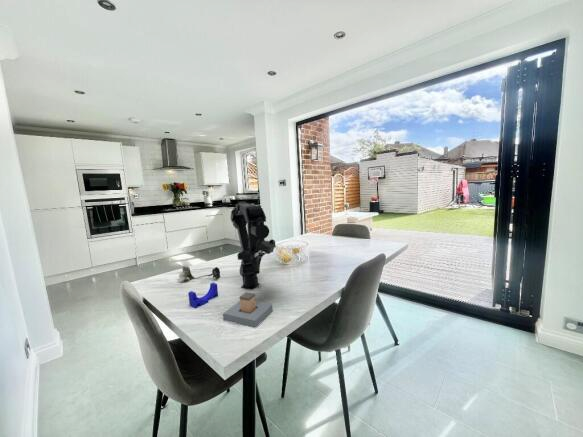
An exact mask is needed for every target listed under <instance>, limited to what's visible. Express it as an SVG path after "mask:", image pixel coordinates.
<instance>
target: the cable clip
mask: <svg viewBox="0 0 583 437" xmlns="http://www.w3.org/2000/svg"><path fill="white" fill-rule="evenodd" d="M218 289H219V288H218V283H216V282H211V283H209V290H208V291H207V293H206V294H205V295H203V296H200V297H198V296H197V294H196V292H195V291H193V290H191V291H189V292H188V293H187V294H188V302H189V307H192V308H193V309H197V308H200V307H202V306H203V305H207V304H209V301H211V300H213V299H215V298H218V297H219V291H218Z"/></svg>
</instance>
